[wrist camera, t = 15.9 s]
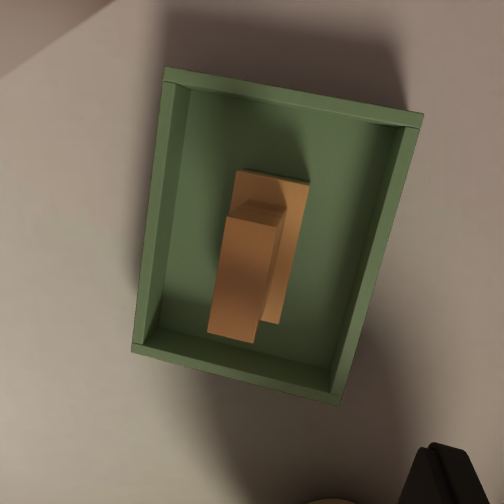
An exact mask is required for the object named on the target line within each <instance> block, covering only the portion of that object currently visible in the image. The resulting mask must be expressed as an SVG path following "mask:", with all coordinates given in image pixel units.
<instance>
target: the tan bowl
mask: <svg viewBox="0 0 504 504" xmlns="http://www.w3.org/2000/svg"><path fill="white" fill-rule="evenodd" d="M307 504H356V503H354V502H350V501H347V500H341V499H322V500H317V501H313V502H310V503H307Z"/></svg>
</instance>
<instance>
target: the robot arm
mask: <svg viewBox="0 0 504 504" xmlns="http://www.w3.org/2000/svg"><path fill="white" fill-rule="evenodd" d="M397 504H490V503H489V501H488V499H487V496H486V494H485V492H484V490H483V487H482V485H481V483H480V481H479V479H478V476H477V474H476V472H475V470H474V467H473V465H472V463H471V461H470V459H469V456H468V455H467V453H466V452H465V451H464V450H461V449H458V448H454V447H450V446H447V445H443V444H439V443H436V442H432V443H431V444H430V445H429V446H428V448H424V447H420V448H419V449H418V451H417V454H416V456H415V459H414V461H413V464H412V467H411V469H410V472H409V474H408V477H407V480H406V482H405V485H404V488H403V490H402V493H401V495H400V498H399V501H398V503H397Z"/></svg>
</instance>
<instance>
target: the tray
mask: <svg viewBox="0 0 504 504" xmlns="http://www.w3.org/2000/svg"><path fill="white" fill-rule="evenodd" d="M163 80H164V81H163V83H162V92H161V100H160V109H159V117H158V126H157V134H156V142H155V151H154V159H153V168H152V176H151V185H150V193H149V202H148V210H147V219H146V227H145V236H144V244H143V253H142V261H141V270H140V278H139V286H138V295H137V303H136V312H135V320H134V329H133V337H132V346H131V352H132V353H136V354H140V355H144V356H148V357H151V358H155V359H159V360H163V361H167V362H171V363H174V364H178V365H182V366H186V367H190V368H193V369H197V370H201V371H205V372H209V373H213V374H216V375H220V376H224V377H228V378H232V379H236V380H239V381H243V382H247V383H251V384H255V385H259V386H262V387H266V388H270V389H274V390H278V391H281V392H285V393H289V394H293V395H297V396H301V397H304V398H308V399H312V400H316V401H320V402H324V403H327V404H331V405H335V406H339V405H340V402H341V399H342V395H343V392H344V389H345V385H346V382H347V378H348V375H349V372H350V368H351V365H352V361H353V358H354V354H355V351H356V348H357V344H358V341H359V337H360V334H361V330H362V327H363V324H364V320H365V317H366V313H367V310H368V306H369V303H370V300H371V296H372V293H373V289H374V286H375V282H376V279H377V276H378V272H379V269H380V265H381V262H382V259H383V255H384V252H385V248H386V245H387V241H388V238H389V235H390V231H391V228H392V224H393V221H394V217H395V214H396V211H397V207H398V204H399V200H400V197H401V193H402V190H403V187H404V183H405V180H406V176H407V173H408V169H409V166H410V163H411V159H412V156H413V152H414V149H415V145H416V142H417V139H418V135H419V132H420V128H421V125H422V121H423V118H424V114H423V113H418V112H413V111H408V110H402V109H397V108H391V107H386V106H381V105H375V104H370V103H364V102H359V101H353V100H348V99H343V98H337V97H332V96H326V95H321V94H315V93H310V92H305V91H299V90H294V89H288V88H283V87H277V86H272V85H267V84H261V83H256V82H250V81H245V80H239V79H234V78H229V77H223V76H218V75H212V74H207V73H201V72H196V71H191V70H185V69H180V68H174V67H169V66H165V67H164V75H163ZM243 168H250V169H255V170H260V171H264V172H269V173H274V174H279V175H284V176H289V177H294V178H299V179H304V180H309V181H311V183H310V188H309V192H308V197H307V201H306V206H305V210H304V215H303V219H302V224H301V228H300V232H299V237H298V241H297V246H296V250H295V255H294V259H293V264H292V268H291V273H290V277H289V281H288V286H287V290H286V295H285V299H284V304H283V308H282V313H281V317H280V321H279V324H275V323H271V322H267V321H262V320H261V322H260V325H259V328H258V331H257V334H256V337H255V340H254V343H248V342H244V341H240V340H236V339H232V338H228V337H224V336H220V335H216V334H212V333H208V332H207V327H208V321H209V315H210V309H211V304H212V298H213V292H214V286H215V280H216V274H217V268H218V263H219V257H220V251H221V245H222V239H223V233H224V228H225V222H226V217H227V215H229V211H230V205H231V199H232V193H233V188H234V182H235V176H236V171H237V170H240V169H243Z"/></svg>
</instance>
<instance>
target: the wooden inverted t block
mask: <svg viewBox="0 0 504 504" xmlns="http://www.w3.org/2000/svg"><path fill="white" fill-rule="evenodd" d="M310 183H311V181H309V180H304V179H299V178H294V177H289V176H284V175H279V174H274V173H269V172H264V171H260V170H255V169H250V168H243V169H240V170H237V171H236V176H235V182H234V188H233V193H232V199H231V205H230V211H229V215H227V217H226V222H225V228H224V233H223V239H222V245H221V251H220V257H219V263H218V268H217V274H216V280H215V286H214V292H213V298H212V304H211V309H210V315H209V321H208V327H207V332H208V333H212V334H216V335H220V336H224V337H228V338H232V339H236V340H240V341H244V342H248V343H254V340H255V337H256V334H257V331H258V328H259V325H260V322H261V320H262V321H267V322H271V323H275V324H279V321H280V317H281V313H282V308H283V304H284V299H285V295H286V290H287V286H288V281H289V277H290V273H291V268H292V264H293V259H294V255H295V250H296V246H297V241H298V237H299V232H300V228H301V224H302V219H303V215H304V210H305V206H306V201H307V197H308V192H309V188H310Z"/></svg>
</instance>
